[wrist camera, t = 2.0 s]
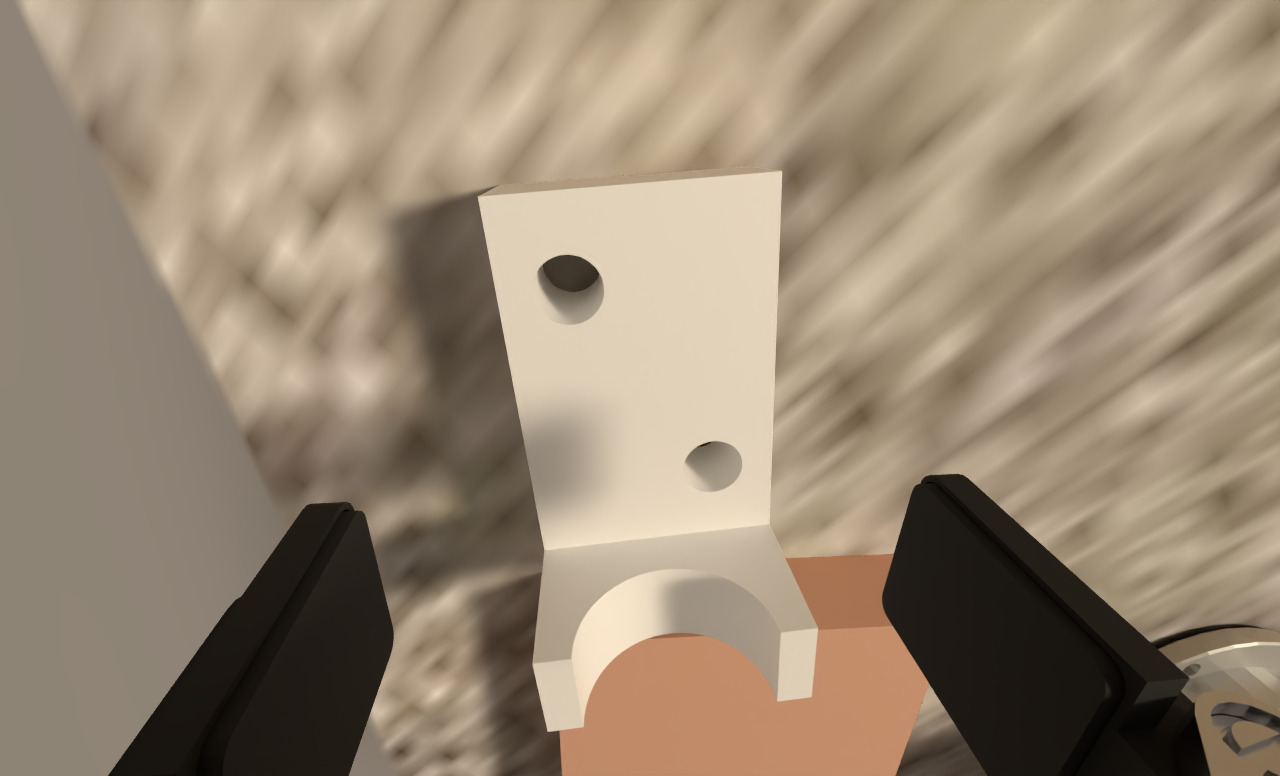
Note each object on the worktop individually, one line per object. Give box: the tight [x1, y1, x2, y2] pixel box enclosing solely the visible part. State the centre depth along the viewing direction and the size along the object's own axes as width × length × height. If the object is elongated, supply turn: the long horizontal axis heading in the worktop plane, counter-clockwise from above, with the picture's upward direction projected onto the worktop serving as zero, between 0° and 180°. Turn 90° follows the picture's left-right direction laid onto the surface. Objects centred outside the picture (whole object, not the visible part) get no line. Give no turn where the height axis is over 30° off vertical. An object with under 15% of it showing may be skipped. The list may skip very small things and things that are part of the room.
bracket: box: [478, 166, 818, 732], centre depth 15 cm, size 13×7×8 cm, turn 4°
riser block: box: [559, 554, 929, 776], centre depth 24 cm, size 14×17×4 cm
